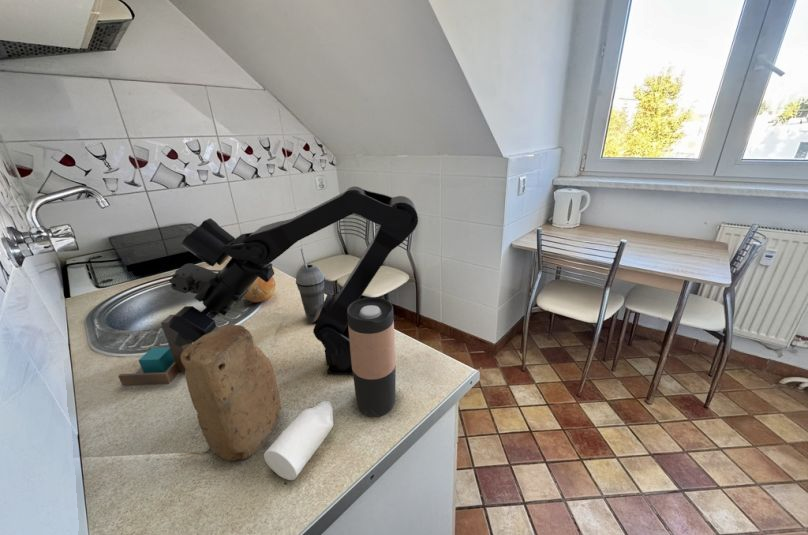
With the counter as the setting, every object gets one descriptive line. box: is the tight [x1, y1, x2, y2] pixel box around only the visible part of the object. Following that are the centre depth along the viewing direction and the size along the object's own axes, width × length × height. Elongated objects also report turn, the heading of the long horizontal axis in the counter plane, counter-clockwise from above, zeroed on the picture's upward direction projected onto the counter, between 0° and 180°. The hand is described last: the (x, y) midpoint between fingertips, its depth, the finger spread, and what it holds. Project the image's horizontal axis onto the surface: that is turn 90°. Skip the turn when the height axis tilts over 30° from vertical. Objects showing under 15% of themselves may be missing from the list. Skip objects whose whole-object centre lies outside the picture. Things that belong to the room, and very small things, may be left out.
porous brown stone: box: [180, 324, 282, 462], centre depth 50 cm, size 11×8×20 cm
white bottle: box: [263, 400, 334, 481], centre depth 51 cm, size 6×12×6 cm, turn 156°
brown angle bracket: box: [118, 314, 192, 387], centre depth 66 cm, size 12×9×13 cm
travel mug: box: [347, 296, 397, 418], centre depth 56 cm, size 8×8×20 cm
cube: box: [138, 346, 175, 373], centre depth 67 cm, size 4×4×4 cm
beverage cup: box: [295, 248, 326, 325], centre depth 83 cm, size 7×7×20 cm
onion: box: [242, 276, 276, 303], centre depth 95 cm, size 10×10×10 cm
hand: (191, 330), depth 65 cm, fingers open, 9 cm apart
